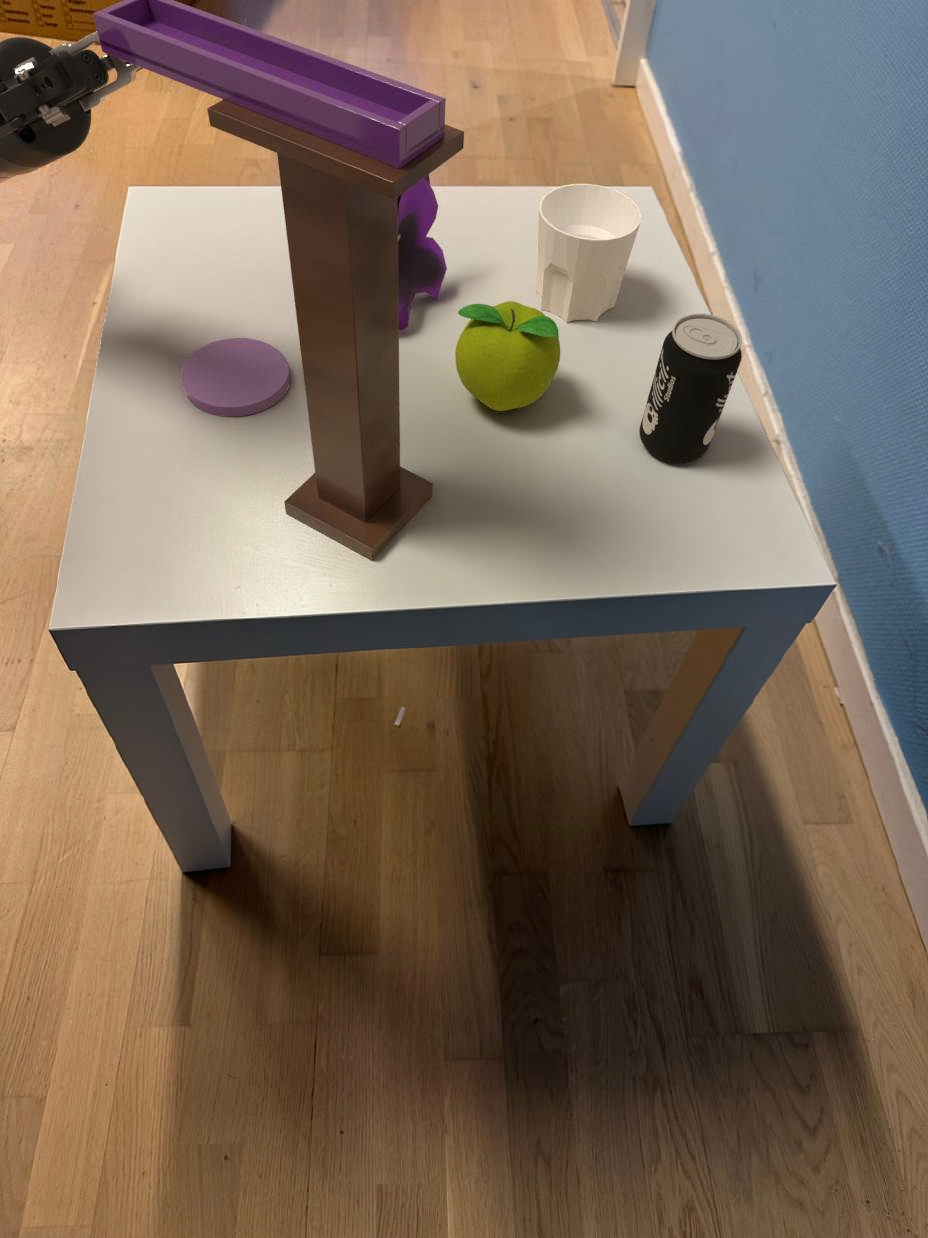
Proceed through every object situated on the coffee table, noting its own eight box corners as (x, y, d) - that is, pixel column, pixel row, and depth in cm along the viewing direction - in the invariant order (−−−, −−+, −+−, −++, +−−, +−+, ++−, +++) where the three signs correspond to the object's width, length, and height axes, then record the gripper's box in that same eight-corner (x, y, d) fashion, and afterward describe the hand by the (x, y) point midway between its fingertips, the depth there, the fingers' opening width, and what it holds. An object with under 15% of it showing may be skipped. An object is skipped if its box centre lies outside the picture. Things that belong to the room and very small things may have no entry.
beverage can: (686, 478, 81) (724, 371, 71) (624, 445, 83) (653, 336, 73) (720, 439, 84) (761, 331, 74) (659, 408, 86) (691, 300, 76)
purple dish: (399, 169, 48) (399, 129, 46) (102, 52, 54) (92, 12, 52) (444, 137, 50) (446, 97, 49) (154, 27, 56) (146, -11, 55)
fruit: (528, 444, 82) (541, 354, 74) (438, 409, 84) (442, 319, 76) (567, 386, 87) (583, 297, 79) (481, 355, 89) (488, 265, 81)
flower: (308, 356, 96) (400, 348, 87) (237, 217, 87) (332, 193, 78) (386, 289, 103) (477, 276, 95) (328, 155, 94) (423, 128, 86)
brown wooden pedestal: (391, 571, 73) (382, 190, 47) (267, 503, 76) (194, 114, 50) (452, 504, 77) (474, 124, 51) (332, 443, 81) (295, 58, 55)
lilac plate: (242, 431, 81) (240, 421, 80) (160, 388, 84) (157, 378, 83) (311, 373, 86) (310, 363, 85) (231, 334, 89) (229, 324, 88)
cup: (610, 270, 99) (628, 182, 91) (630, 326, 93) (651, 238, 85) (521, 272, 98) (531, 184, 90) (536, 329, 92) (548, 241, 84)
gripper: (-106, 94, 60) (-7, 14, 50) (56, 25, 68) (172, -57, 57) (-30, 204, 65) (76, 152, 54) (115, 128, 72) (233, 69, 61)
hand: (125, 45), depth 56 cm, fingers open, 8 cm apart
